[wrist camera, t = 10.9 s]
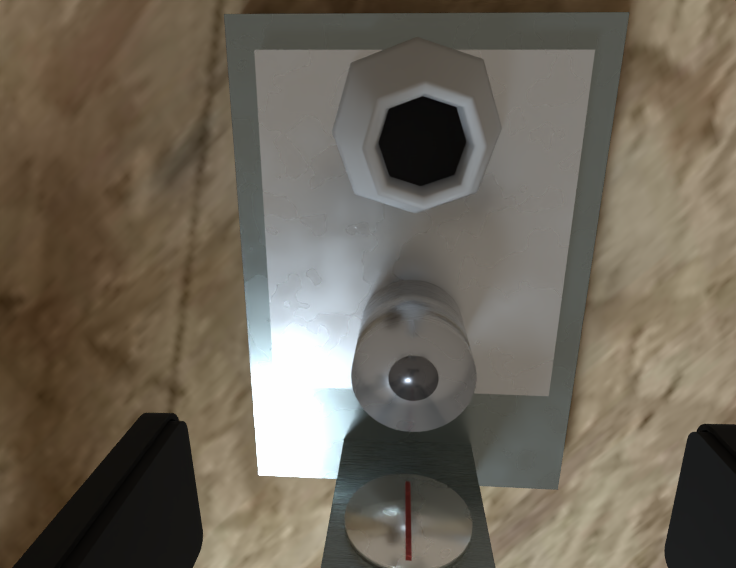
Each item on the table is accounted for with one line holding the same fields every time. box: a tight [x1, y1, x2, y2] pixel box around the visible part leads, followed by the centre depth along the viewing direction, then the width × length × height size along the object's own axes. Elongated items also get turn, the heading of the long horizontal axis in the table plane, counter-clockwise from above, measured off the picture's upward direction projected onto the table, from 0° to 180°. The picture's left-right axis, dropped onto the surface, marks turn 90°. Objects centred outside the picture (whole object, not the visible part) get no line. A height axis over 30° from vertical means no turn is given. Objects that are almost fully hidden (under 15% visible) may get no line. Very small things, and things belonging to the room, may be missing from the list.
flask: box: [332, 37, 502, 214], centre depth 18 cm, size 7×7×10 cm
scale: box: [224, 12, 629, 568], centre depth 22 cm, size 17×24×12 cm
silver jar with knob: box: [351, 280, 477, 432], centre depth 23 cm, size 5×5×5 cm
